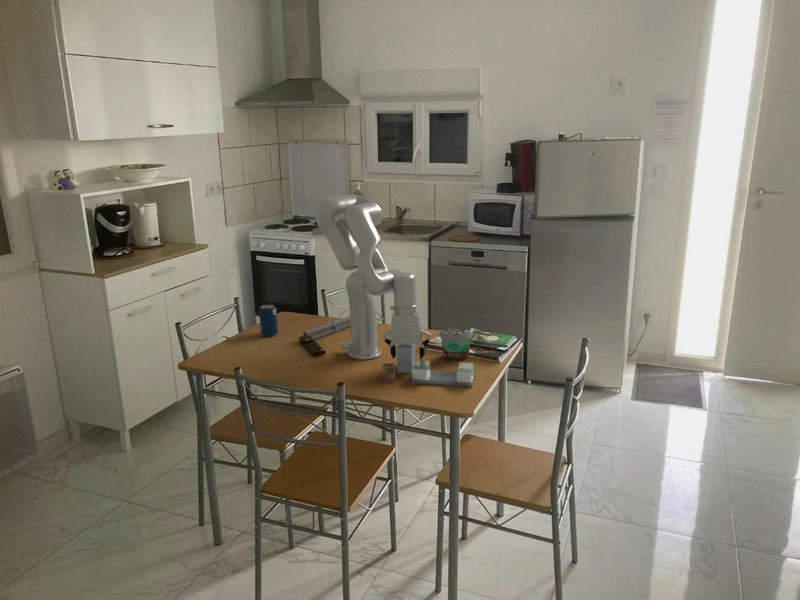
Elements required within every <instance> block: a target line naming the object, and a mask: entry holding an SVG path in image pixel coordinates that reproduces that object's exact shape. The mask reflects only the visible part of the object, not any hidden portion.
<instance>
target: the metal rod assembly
mask: <svg viewBox="0 0 800 600" xmlns="http://www.w3.org/2000/svg"><path fill="white" fill-rule="evenodd" d="M348 328H351V321H350V316H346V317H344V318H341V319H337V320H333V321H330V322H329V323H326V324H323V325H321V326H317V327H315V328H312V329H309V330H307V331H306V330H305V331H304V332H303V336H306V337H305V338H307V337H309V336H311V337H312V338H313V339H315V340H319V339H321V338H323V337H327V336H328V335H329V336H330V335H332V334H336V333H338V332H340V331H342V330H345V329H348ZM315 340H314V341H315Z"/></svg>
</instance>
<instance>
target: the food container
mask: <svg viewBox="0 0 800 600" xmlns="http://www.w3.org/2000/svg"><path fill="white" fill-rule="evenodd" d="M473 336H474V333H473V329H471V330H470V331H459V330H457V331H456V330H455V331H449V332H446V331H445V332H444V331H442V330H441V329H440V331H439V333H438V337H439V338H440V339H441V340H440V341H441V349H442V356H443V358H444V359H445V360H447V361H454V362H455V361H457V362H459V361H465V360H467V359H468V358H469V357H470V351H471V350H470V348H471V341H472V338H473ZM468 356H469V357H468Z"/></svg>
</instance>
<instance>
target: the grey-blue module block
mask: <svg viewBox="0 0 800 600" xmlns="http://www.w3.org/2000/svg"><path fill="white" fill-rule="evenodd" d="M415 363H416V344H406V343H398V345H397V346H396V366H397V367H396V370H397V373H400V374H413V367H414V365H415Z"/></svg>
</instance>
